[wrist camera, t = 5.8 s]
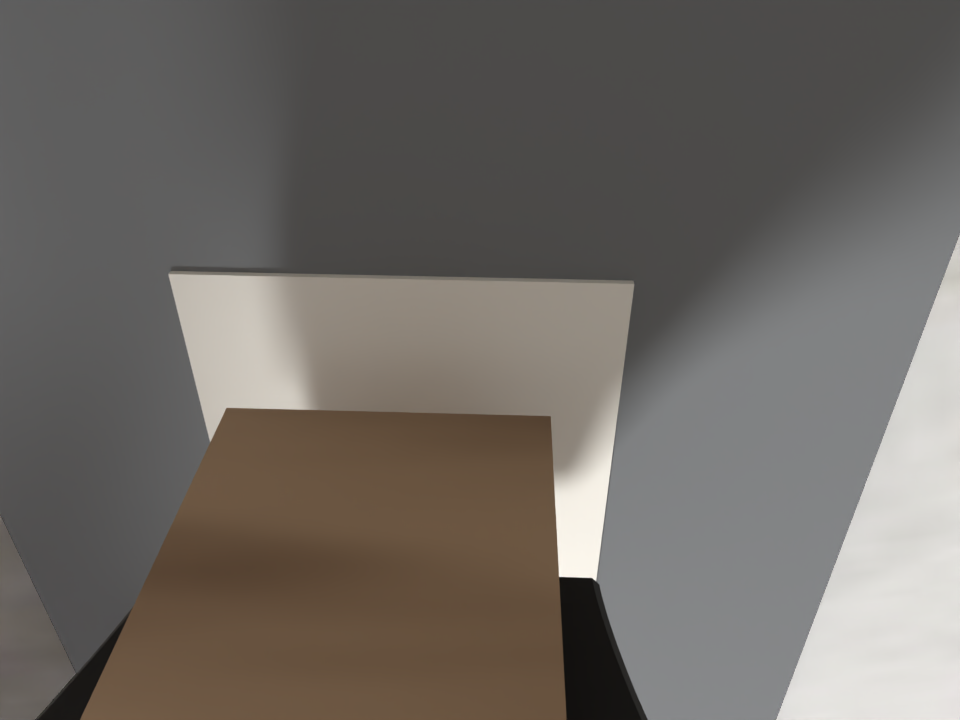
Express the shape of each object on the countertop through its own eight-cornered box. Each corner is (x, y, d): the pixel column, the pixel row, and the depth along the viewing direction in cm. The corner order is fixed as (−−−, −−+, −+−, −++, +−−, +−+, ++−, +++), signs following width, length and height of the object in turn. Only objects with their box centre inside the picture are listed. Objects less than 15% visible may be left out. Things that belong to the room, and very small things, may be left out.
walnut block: (536, 622, 14) (544, 975, 10) (273, 613, 14) (171, 958, 10) (551, 416, 11) (569, 780, 7) (226, 407, 11) (61, 759, 7)
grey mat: (761, 730, 20) (766, 750, 19) (105, 706, 20) (97, 725, 20) (1084, -155, 9) (1111, -153, 9) (-293, -162, 10) (-330, -160, 9)
